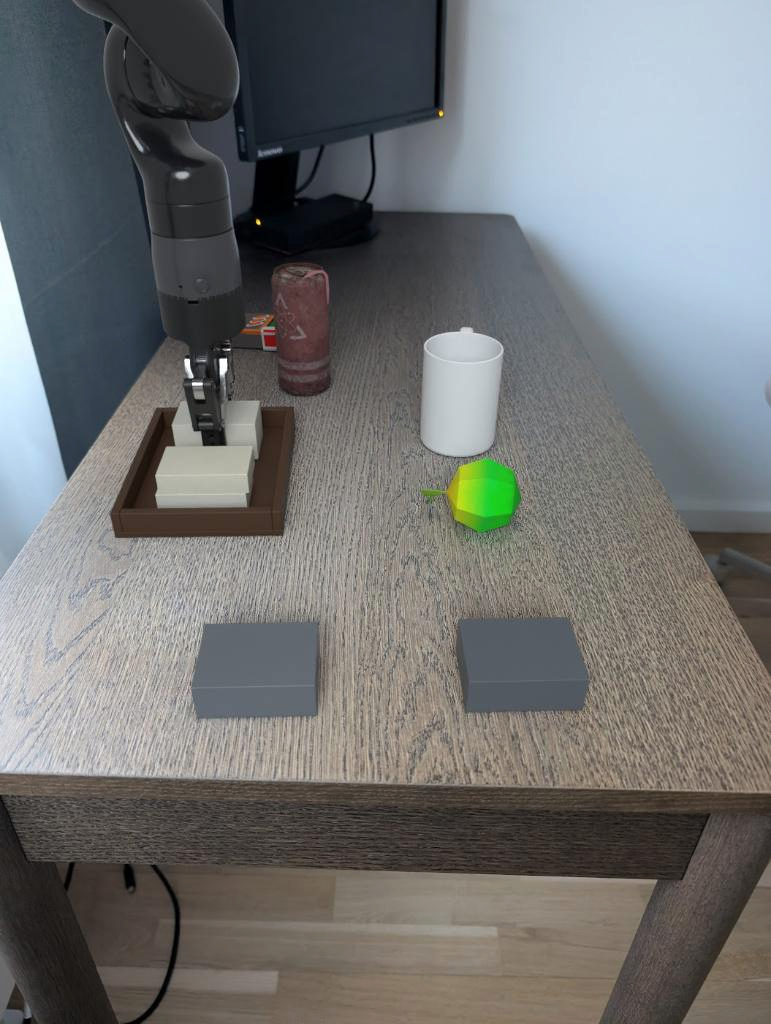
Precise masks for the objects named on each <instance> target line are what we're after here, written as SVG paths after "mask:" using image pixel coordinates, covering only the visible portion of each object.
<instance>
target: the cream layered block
mask: <svg viewBox="0 0 771 1024" xmlns="http://www.w3.org/2000/svg"><path fill="white" fill-rule="evenodd" d="M254 465H255V460H254V450H253V446H178V447H166V449H165V451H164V454H163V457H162V459H161V462H160V465H159V467H158V470H157V472H156V475H155V477H156V482H157V487H158V489H157V492H156V495H155V496H156V502H157V507H158V508H223V507H249V503H250V498H251V492H252V487H253V471H254Z"/></svg>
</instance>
